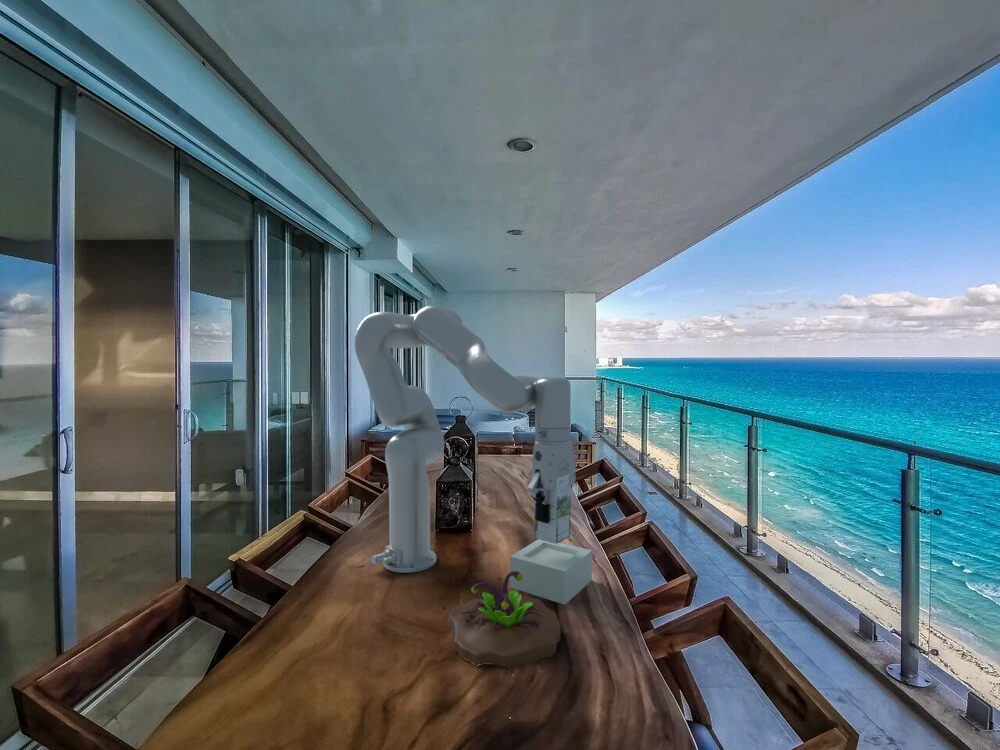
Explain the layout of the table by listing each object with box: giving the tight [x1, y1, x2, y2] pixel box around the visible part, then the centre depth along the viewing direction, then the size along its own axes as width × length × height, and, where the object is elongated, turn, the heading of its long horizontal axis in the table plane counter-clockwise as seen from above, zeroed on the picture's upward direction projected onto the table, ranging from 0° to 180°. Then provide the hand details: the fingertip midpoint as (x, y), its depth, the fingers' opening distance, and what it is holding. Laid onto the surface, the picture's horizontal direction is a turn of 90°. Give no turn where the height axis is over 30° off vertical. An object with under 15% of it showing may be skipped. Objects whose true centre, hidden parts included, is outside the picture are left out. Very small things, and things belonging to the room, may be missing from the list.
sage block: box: [509, 539, 593, 605], centre depth 109 cm, size 13×13×7 cm
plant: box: [448, 571, 561, 668], centre depth 90 cm, size 20×20×11 cm
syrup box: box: [534, 474, 572, 544], centre depth 108 cm, size 6×6×14 cm
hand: (552, 517), depth 108 cm, fingers closed on syrup box, 6 cm apart
